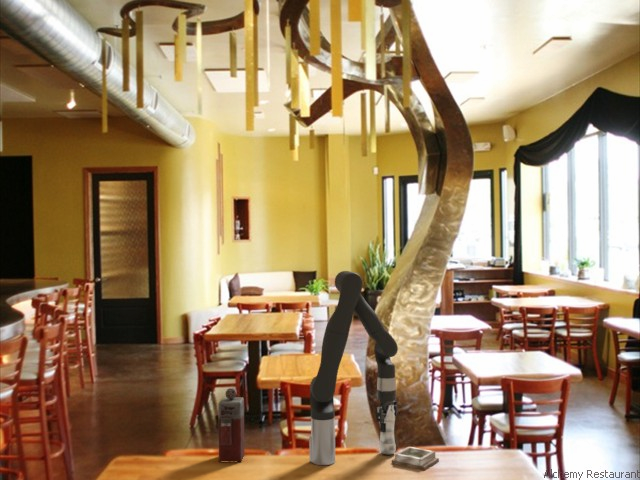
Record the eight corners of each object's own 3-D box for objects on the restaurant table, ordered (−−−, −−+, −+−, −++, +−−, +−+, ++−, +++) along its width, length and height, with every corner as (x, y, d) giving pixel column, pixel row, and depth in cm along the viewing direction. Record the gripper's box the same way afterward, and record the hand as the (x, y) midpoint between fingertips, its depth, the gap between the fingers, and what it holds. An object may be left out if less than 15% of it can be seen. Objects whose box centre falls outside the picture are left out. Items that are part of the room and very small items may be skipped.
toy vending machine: (217, 464, 245) (216, 391, 246) (222, 455, 257) (221, 385, 257) (240, 464, 245) (239, 391, 246) (244, 454, 256) (243, 385, 257)
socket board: (391, 463, 243) (391, 453, 244) (406, 455, 253) (406, 445, 253) (424, 470, 235) (424, 460, 235) (438, 461, 245) (438, 451, 245)
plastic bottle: (395, 456, 251) (394, 406, 251) (378, 456, 252) (377, 405, 253) (396, 451, 257) (395, 402, 258) (380, 450, 259) (379, 401, 259)
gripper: (387, 384, 263) (388, 424, 263) (369, 390, 252) (369, 432, 251) (403, 386, 259) (404, 427, 259) (385, 392, 247) (386, 435, 247)
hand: (387, 429), depth 255 cm, fingers closed on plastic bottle, 6 cm apart
